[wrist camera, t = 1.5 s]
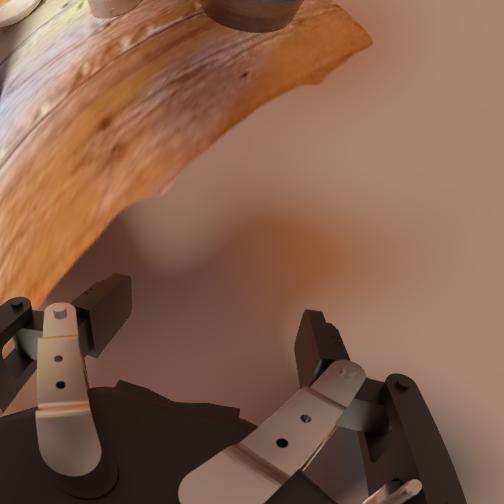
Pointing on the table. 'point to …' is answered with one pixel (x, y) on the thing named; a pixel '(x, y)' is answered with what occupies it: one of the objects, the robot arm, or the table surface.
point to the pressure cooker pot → (252, 13)
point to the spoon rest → (16, 11)
